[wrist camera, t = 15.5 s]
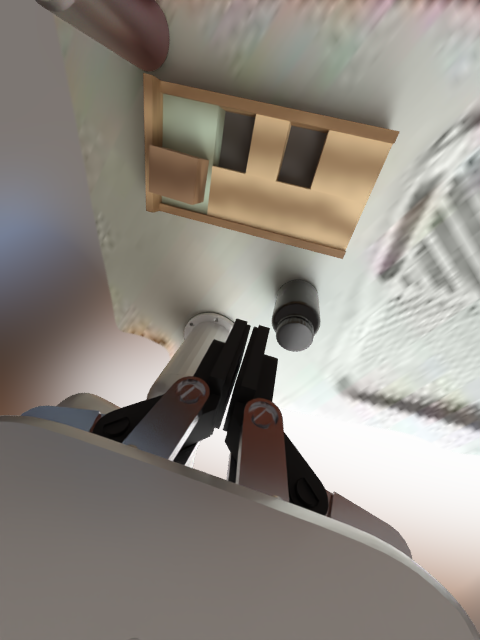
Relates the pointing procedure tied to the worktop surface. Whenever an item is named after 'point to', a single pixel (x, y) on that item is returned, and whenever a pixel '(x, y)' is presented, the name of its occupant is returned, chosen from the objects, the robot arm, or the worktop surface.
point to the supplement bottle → (296, 315)
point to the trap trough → (267, 165)
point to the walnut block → (177, 175)
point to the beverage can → (119, 27)
